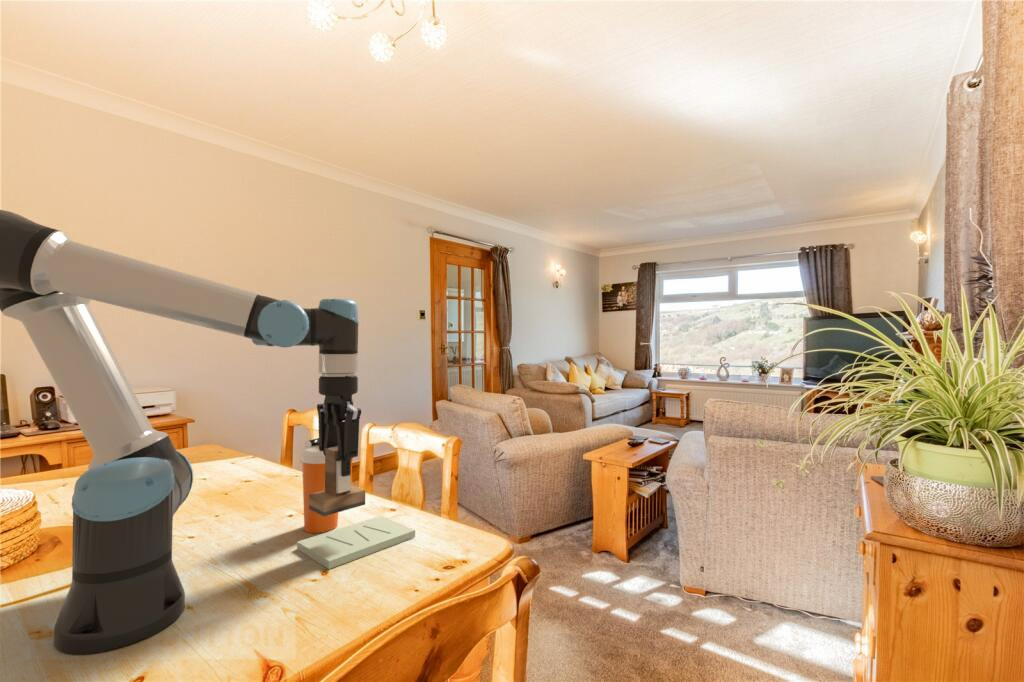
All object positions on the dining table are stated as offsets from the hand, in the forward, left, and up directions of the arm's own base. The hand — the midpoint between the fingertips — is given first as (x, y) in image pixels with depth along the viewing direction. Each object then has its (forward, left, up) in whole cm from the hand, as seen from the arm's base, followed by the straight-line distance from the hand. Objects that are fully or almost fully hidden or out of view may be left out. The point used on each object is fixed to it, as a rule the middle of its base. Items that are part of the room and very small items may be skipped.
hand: (337, 489), depth 97 cm
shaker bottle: (+4, +14, -13) cm, 19 cm away
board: (+5, 0, -12) cm, 13 cm away
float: (0, 0, -4) cm, 4 cm away
